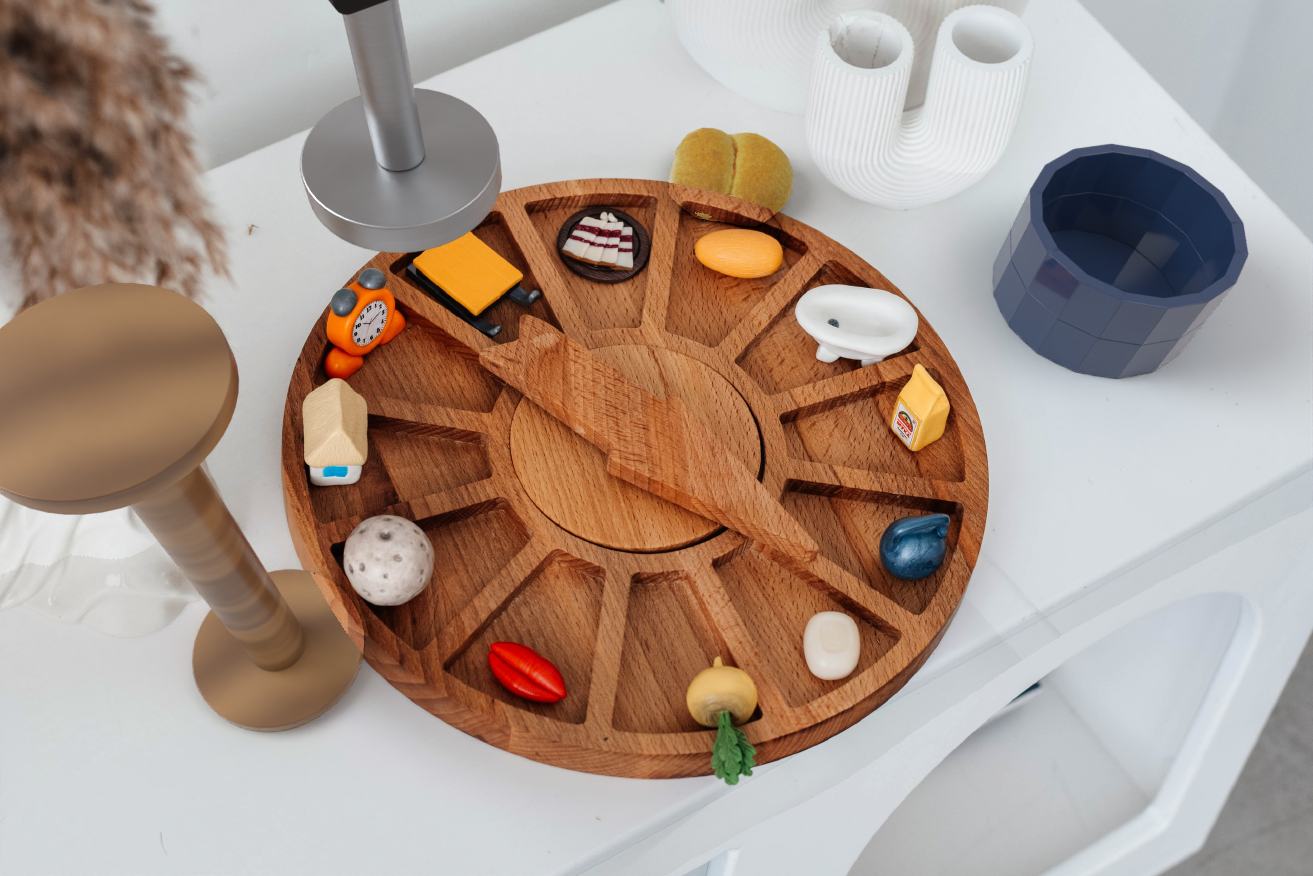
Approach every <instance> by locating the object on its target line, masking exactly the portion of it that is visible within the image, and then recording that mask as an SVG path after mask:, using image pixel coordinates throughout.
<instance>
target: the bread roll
mask: <svg viewBox="0 0 1313 876" xmlns="http://www.w3.org/2000/svg"><path fill="white" fill-rule="evenodd" d="M668 182H669V183H675V184H680V185H686V186H691V187H696V188H700V189H704V190H710V191H713V192H719V193H722V194H727V195H732V196H734V197H736V198H740V199H742V200H745V201H748V202H750V203H754V204H758V205H761V206H763V207H766V208H769V209H772V210H774V211H777V212H779V213H780V212H781V211H782V210H783V209H785V207H786V206H787V205H788V203H789V201H790V199H791V198H792V195H793V189H794V171H793V167H792V165H791V161H790V159H789V157H788V156H787V154H786V152H785V151H783V149H782V148H781V147H779V146H778V145H777V144H776V143H774V142H773V141H771V140H770V139H769V138H766V137H765V136H763V135H761V134H759V133H755V132H738V133H732V134H728V133H726V132H725V131H723V130H721V129H718V128H715V127H701V128H697V129H696V130H693V131H692V132H689V133H687V134H686V135H685V136H684V137H683V139H682V140H681V142H680V143H679V144H678V146H677V147H676V148H675V151H674V155H673V159H672V162H671V165H670V171H669V176H668V180H667V183H668ZM695 214H697V216H700V217H703V218H706V219H708V218H711V217H712V216H709V215H708V214H704V213H703V212H702V213H699V212H698V213H696V212H695Z"/></svg>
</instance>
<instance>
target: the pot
mask: <svg viewBox="0 0 1313 876" xmlns="http://www.w3.org/2000/svg"><path fill="white" fill-rule="evenodd" d="M1248 257H1249V249H1248V243H1247V236H1246V230H1245V223H1244V222H1243V220H1242V219H1241V217H1240V216H1239V214H1238V213H1237V211H1236V209H1235V208H1234V206H1233V205H1232V203H1231V202H1230V200H1229V199H1228V197H1227V196H1226V195H1225V193H1224V192H1223V191H1222V190H1221V189H1219V188H1218V187H1217V186H1216V185H1214V184H1213V183H1211V181H1209V180H1208V179H1207V178H1205V176H1203V175H1201V173H1199V172H1198V171H1196V170H1195V169H1194V168H1192V167H1191V166H1190V165H1188V164H1186V163H1183V162H1180V161H1179V160H1176V159H1173V158H1171V157H1169V156H1166V155H1165V154H1162V153H1160V152H1158V151H1155V150H1153V149H1149V148H1141V147H1135V146H1130V145H1122V144H1116V143H1105V144H1098V145H1097V144H1096V145H1091V146H1084V147H1076V148H1073V149H1070V150H1069V151H1067V152H1065V153H1063V154H1062V155H1060V156H1058V157H1056V158H1055V159H1053V160H1051V161H1049V162H1048V163H1045V164H1044V165H1043V167H1042V169H1041V170H1040V172H1039V174H1038V175H1037V177H1036V179H1035V180H1034V182H1033V183H1032V185H1031V187H1030V188H1029V190H1028V193H1027V194H1026V197H1025V198H1024V201H1023V203H1022V205H1021V207H1020V209H1019V211H1018V213H1017V215H1016V217H1015V219H1014V221H1013V223H1012V225H1011V228H1010V230H1009V232H1008V233H1007V236H1006V238H1005V240H1004V242H1003V243H1002V245H1001V248H1000V250H999V252H998V254H997V256H996V259H995V260H994V263H993V266H992V294H993V298H994V300H995V303H996V305H997V307H998V310H999V312H1000V313H1001V314H1000V315H1002V317H1003V319H1004V320H1005V323H1006V324H1007V326H1008V328H1009V329H1010V330H1012V331H1013V333H1014V334H1015V335H1017V337H1018V338H1019V339H1020V340H1021V341H1022V342H1024V343H1025V344H1026V345H1027V346H1028V347H1029V348H1030V349H1031V350H1033V351H1034V352H1035V353H1036V354H1037V355H1039V356H1041V357H1042V358H1044V359H1046V360H1047V359H1048V360H1049V361H1051V363H1054V364H1055V365H1058V366H1061V367H1063V368H1065V369H1067V370H1070V371H1072V372H1074V373H1078V374H1084V375H1088V376H1092V377H1100V378H1108V379H1115V380H1117V379H1123V378H1132V377H1137V376H1138V377H1139V376H1142V375H1147V374H1152V373H1155V372H1156V371H1158V370H1159V369H1161V368H1162V367H1163V366H1165V365H1167V364H1168V363H1169V362H1170V361H1172V360H1174V359H1175V358H1176V357H1177V356H1179V355H1180V354H1181V353H1182V352H1183V350H1185V348H1186V347H1187V346H1188V345H1189V343H1190V342H1191V340H1193V338H1194V337H1195V335H1197V333H1198V332H1199V330H1200V329H1201V328H1203V326H1204V324H1205V323H1206V322H1207V321H1208V319H1209V318H1210V317H1211V315H1212V314H1213V313H1214V312H1215V310H1217V308H1218V307H1219V306H1220V304H1221V303H1222V302H1223V301H1224V299H1225V298H1226V297H1227V296H1228V294H1229V293H1230V292H1231V290H1232V289H1233V288H1234V287H1235V285H1236V284H1237V283H1238V281H1239V278H1240V276H1241V274H1242V271H1243V268H1244V266H1245V264H1246V262H1247V260H1248Z"/></svg>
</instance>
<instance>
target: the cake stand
mask: <svg viewBox="0 0 1313 876" xmlns="http://www.w3.org/2000/svg"><path fill="white" fill-rule="evenodd" d="M239 390H240V375H239V368H238V363H237V360H236V357H235V354H234V351H233V350H232V348H231V346H230V344H229V342H228V339H227V338H226V335H225V333H224V332H223V329H222V328H221V326H220V325H219V324H218V322H217V321H216V320H215V318H214V317H213V316H212V315H211V314H210V313H209V312H208V311H207V310H206V309H205V308H204V307H202V306H201V305H199V304H198V303H197V302H195V301H194V300H192V299H191V298H189V297H188V296H187V297H186V296H185V295H183V294H181V293H179V292H176V291H174V290H170V289H168V288H166V287H160V286H157V285H152V284H147V283H146V284H145V283H137V282H110V283H109V282H107V283H100V284H94V285H88V286H83V287H78V288H75V289H72V290H68V291H65V292H62V293H59V294H57V295H54V296H51V297H49V298H47V299H45V300H43V301H41V302H40V301H39V302H38V303H36V304H34V305H32V306H31V307H29V308H27V309H26V310H24V311H22V312H21V313H19V314H18V315H16V316H14V317H13V318H12V319H10V320H9V321H8V322H6V323H5V324H4V325H3V326H1V327H0V495H1V496H3V497H4V498H6V499H8V500H10V501H11V502H13V503H15V504H18V505H20V506H22V507H26V508H27V509H30V510H33V511H38V512H43V513H46V514H54V515H63V516H84V515H93V514H103V513H107V512H112V511H116V510H121V509H124V508H127V507H130V508H131V509H132V511H133V512H134V513H135V514H136V516H137V517H138V519H140V521H141V522H142V523H143V524H144V525H145V527H146V528H147V529H148V531H149V532H150V533H151V535H152V536H153V537H154V538H155V539H156V541H157V542H158V543H159V545H160V546H161V547H162V548H163V550H164V551H165V552H166V553H167V555H168V556H169V557H170V559H172V561H173V563H174V564H175V565H176V566H177V567H178V569H179V570H180V572H181V573H182V574H183V575H184V576H185V578H186V579H187V580H188V581H189V583H190V584H191V585H192V586H193V588H194V589H195V590H196V591H197V593H198V594H199V595H200V596H201V598H202V599H203V600H204V601H205V603H206V604H207V606H208V607H209V608H210V610H209V611H208V613H207V614H206V615H205V617H204V619H203V621H201V624H200V626H199V628H198V631H197V633H196V636H195V639H194V643H193V647H192V656H191V657H192V658H191V666H192V674H193V679H194V683H195V685H196V687H197V690H198V692H199V694H200V695H201V697H202V698H203V700H204V702H205V703H206V704H207V706H209V708H211V710H212V711H214V712H215V713H216V714H217V715H218V716H219V717H221V718H222V719H223V720H224V721H227V722H228V723H229V724H231V725H234V726H236V727H239V728H242V729H245V730H249V731H255V732H262V733H263V732H265V733H266V732H267V733H268V732H279V731H288V730H291V729H294V728H298V727H300V726H303V725H305V724H308V723H311V722H312V721H313V720H316V719H317V718H319V717H321V716H322V715H323V714H325V713H326V712H329V711H330V709H332V708H333V707H334V706H335V705H336V704H338V703H339V701H340V700H341V699H342V698H343V697H344V696H345V695H346V694H347V692H348V691H349V690H350V688H351V687H352V685H353V684H354V682H355V680H356V678H357V676H358V675H359V672H360V670H361V666H362V664H363V660H364V656H363V654H362V652H361V650H359V649H358V647H357V646H356V645H355V643H354V642H353V641H352V640H351V638H350V637H349V635H348V634H347V633H346V631H345V630H344V628H343V627H342V625H341V623H340V622H339V621H338V619H337V617H336V616H335V614H334V613H333V611H332V610H331V607H330V606H329V604H328V603H327V601H326V599H325V598H324V595H323V594H322V592H321V590H320V588H318V585H317V584H316V582H315V580H314V579H313V577H312V575H311V573H310V572H311V571H309V570H304V569H295V568H293V569H287V568H286V569H277V570H272V571H268V570H267V569H266V567H265V566H264V564H263V563H262V561H261V560H260V557H259V556H258V555H257V553H256V551H255V550H254V548H253V546H252V545H251V544H250V541H249V540H248V538H247V537H246V535H245V533H244V532H243V531H242V529H241V527H240V525H239V524H238V522H237V521H236V520H235V518H234V516H233V514H232V513H231V511H230V509H229V508H228V507H227V504H226V503H225V502H224V500H223V499H222V498H221V496H220V494H219V492H218V491H217V489H216V487H215V485H214V484H213V482H212V481H211V479H210V478H209V476H208V474H207V473H206V471H205V470H204V468H203V466H202V465H201V464H202V463H203V462H204V461H205V460H206V458H208V456H210V454H211V453H212V452H213V451H214V450H215V448H216V447H217V445H218V444H219V443H220V442H221V440H222V438H223V437H224V435H225V434H226V431H227V429H228V428H229V426H230V423H231V422H232V420H233V416H234V414H235V411H236V408H237V403H238V398H239V392H240V391H239Z"/></svg>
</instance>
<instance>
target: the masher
mask: <svg viewBox="0 0 1313 876" xmlns="http://www.w3.org/2000/svg"><path fill="white" fill-rule="evenodd" d="M399 1H400V0H389V1H386V2H383V3H381V4H378V5H375V6H372V7H370V8H367V9H364V10H361V11H359V12H356V13H353V14H349V15H343V14H341V16H342V20H343V23H344V28H345V32H346V37H347V41H348V45H349V50H350V54H351V59H352V63H353V67H354V71H355V76H356V80H357V84H358V88H359V93H360V94H359V95H358V96H355V97H353V98H351V99H348V100H345V101H344V102H342V103H341V104H339V105H337V106H335V107H334V108H332V109H331V110H330V111H328V112H327V113H325V115H324V116H322V117H321V119H319V120H318V121H317V122H316V124H315V125H314V126H313V127H312V129H310V131H309V133H308V135H307V136H306V138H305V140H304V143H303V145H302V148H301V152H300V157H299V171H300V176H301V180H302V183H303V187H304V191H305V193H306V196H307V199H308V201H309V204H310V207H311V210H312V211H313V213H314V216H316V218H317V219H318V220H319V222H320V223H321V224H322V225H323V226H324V228H326V229H327V230H328V231H329V232H330V233H332V234H333V235H335V236H336V237H337V238H339V239H341V240H343V241H345V242H347V243H348V244H351V245H353V246H355V247H358V248H361V249H365V250H369V251H374V252H380V253H387V254H389V253H390V254H408V253H417V252H422V251H429V250H432V249H436V248H439V247H442V246H444V245H447V244H450V243H452V242H454V241H456V240H458V239H460V238H462V237H464V236H465V235H467V234H468V233H470V232H472V231H473V230H474V229H475V228H476V227H478V226H479V225H481V223H482V222H483V221H484V220H485V219H486V217H487V216H488V215H489V214H490V213H491V211H492V209H493V208H494V207H495V204H496V203H497V200H498V198H499V196H500V192H501V188H502V182H503V181H502V180H503V172H502V162H501V151H500V143H499V141H498V137H497V134H496V132H495V131H494V129H493V127H492V125H491V124H490V122H489V121H488V120H487V118H486V117H484V115H483V114H482V113H480V111H478V110H477V109H476V108H475V107H473V106H472V105H471V104H469V103H468V102H466V101H464V100H463V99H461V98H457V97H456V96H454V95H451V94H448V93H444V92H441V91H438V90H435V89H434V90H433V89H429V88H420V87H415V86H414V80H413V75H412V69H411V63H410V58H409V57H410V56H409V53H408V47H407V41H406V36H405V29H404V25H403V24H404V23H403V17H402V13H401V6H400V2H399Z"/></svg>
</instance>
